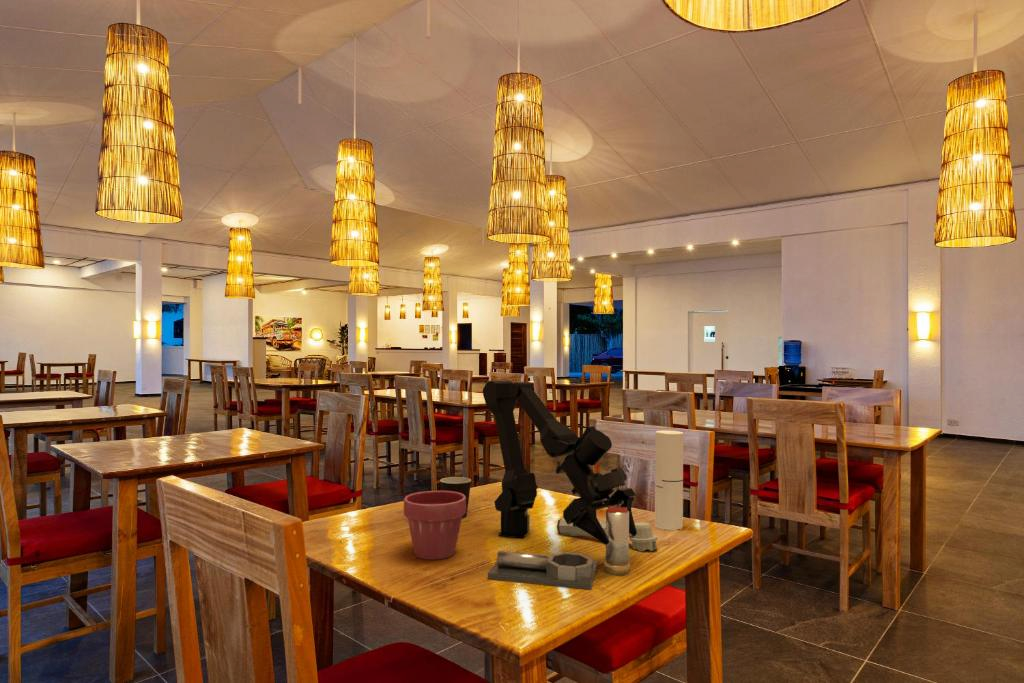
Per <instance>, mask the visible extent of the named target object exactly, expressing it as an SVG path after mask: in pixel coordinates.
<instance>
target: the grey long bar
mask: <svg viewBox="0 0 1024 683" xmlns="http://www.w3.org/2000/svg"><path fill="white" fill-rule="evenodd" d="M598 521H599V523H600V524H601V526H602V528H603V530H604V532H605V533H606V521H600V520H598ZM634 523H635V527H636V531H637V534H636V535H635V536H632V535H631V534H630V533H629V542H631V544H632V548H633V550H637V551H638V552H646V550H649V551H650V552H651V551H654V550H657V541H658V536H657V535H656V534H654V532H653V529H652V525H651V524H650V523H649V522H634ZM572 524H573V523H572ZM572 524H568V525H567V523H566V521H565V519H564V518H559V519H558V520H557V523H556V531H557V534H558V535H564V536H570V537H572V536H573V537H575V536H577V537H581V536H584V537H592V536H591V535H590V534H588V533H587V532H585V531H583V530H582V529H580V528H578V527H576V526H575V527H574V526H573V525H572Z"/></svg>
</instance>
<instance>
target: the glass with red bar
mask: <svg viewBox="0 0 1024 683" xmlns="http://www.w3.org/2000/svg"><path fill="white" fill-rule="evenodd" d="M605 522H606V535H607V537H608V540H609V543H608V544H607V545H605V559H604V561H603V562H604V563H603V571H604V572H605V573H606V574H608V575H611V576H626V575H629V574H630V573H631V562H630V556H629V554H630V537H629V511H628V510H627V507H614V506H608V507H607V508H606V510H605Z"/></svg>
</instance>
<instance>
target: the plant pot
mask: <svg viewBox="0 0 1024 683" xmlns="http://www.w3.org/2000/svg"><path fill="white" fill-rule="evenodd" d="M465 513H466V497H465V495H464V494H462V493H458V492H453V491H441V490H429V491H428V490H426V491H418V492H414V493H410V494H407V495H406V496H404V499H403V515H404V516H405V518H407V521H408V529H409V532H410V538H411V542H412V547H413V551H414V552H413V553H414V555H415V556H416V557H417V558H420V559H423V560H424V559H425V560H441V559H442V560H443V559H447V558H450V557H452V556H454V555H455V553H456V548H457V543H458V538H459V533H460V530H461V524H462V516H463V515H465Z"/></svg>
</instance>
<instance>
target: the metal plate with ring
mask: <svg viewBox="0 0 1024 683" xmlns="http://www.w3.org/2000/svg"><path fill="white" fill-rule="evenodd" d="M598 567H599V560H595V559H594V558H593V557H590V556H587V555H586V554H584V553H580V552H579V553H578V552H577V553H576V552H569V551H568V552H567V551H565V552H557V553H554V554H543V553H542V554H539V553H528V552H518V551H516V552H515V551H509V550H508V551H507V550H498V552H497V556H496V562H495V563H494V565H492V566H491V568H490V569H489V571H487V579H488V580H495V581H496V580H497V581H503V582H513V581H514V583H522V582H523V583H522V584H532V583H533V585H541V584H544V585H543V586H552V587H562V588H571V589H572V588H573V589H578V590H579V589H582V590H592V587H593V584H594V581H595V577H596V573H597V570H598Z"/></svg>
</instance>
